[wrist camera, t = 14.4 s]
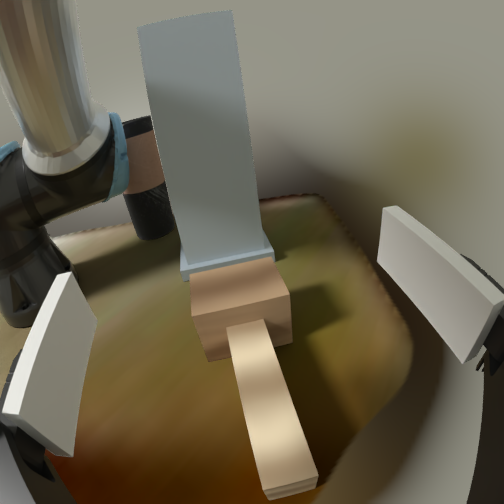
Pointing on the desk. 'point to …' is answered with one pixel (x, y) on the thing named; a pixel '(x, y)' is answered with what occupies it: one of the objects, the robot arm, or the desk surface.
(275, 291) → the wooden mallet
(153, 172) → the travel mug
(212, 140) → the pedestal
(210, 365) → the desk surface
